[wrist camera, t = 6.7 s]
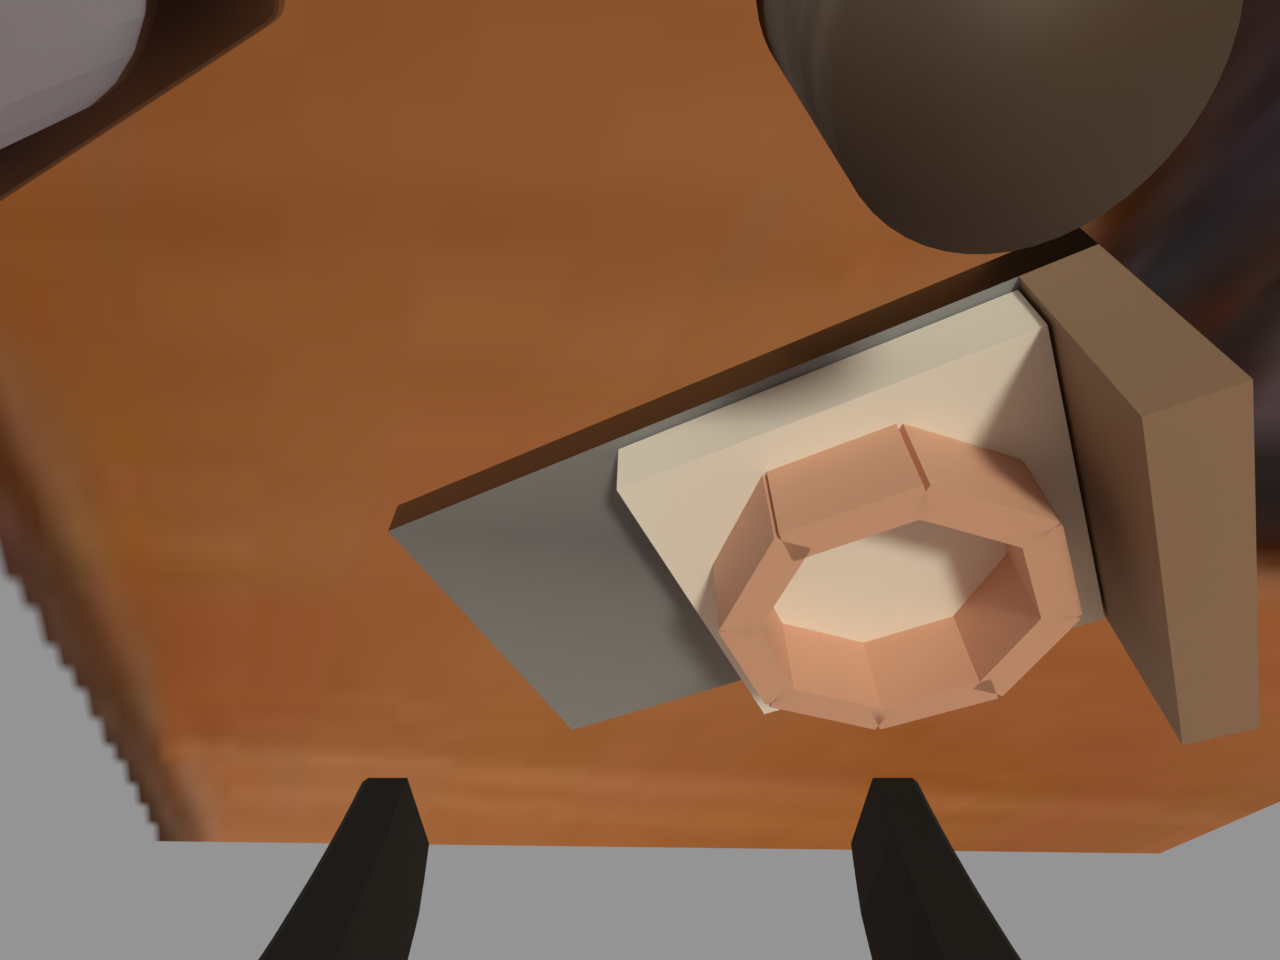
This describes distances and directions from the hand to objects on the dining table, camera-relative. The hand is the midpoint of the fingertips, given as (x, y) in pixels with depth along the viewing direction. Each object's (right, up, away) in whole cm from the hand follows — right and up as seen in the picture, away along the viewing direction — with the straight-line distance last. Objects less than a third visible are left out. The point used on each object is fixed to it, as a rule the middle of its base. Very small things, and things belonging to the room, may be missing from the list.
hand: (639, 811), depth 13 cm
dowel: (+4, +14, +1) cm, 14 cm away
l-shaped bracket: (+3, +4, +9) cm, 10 cm away
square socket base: (+6, +4, +7) cm, 10 cm away
